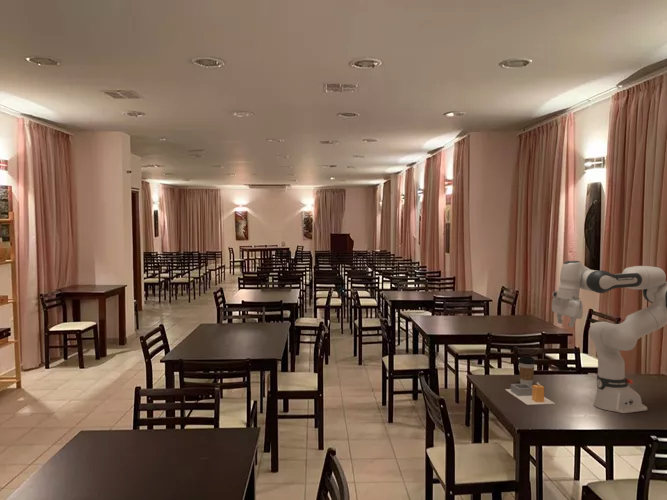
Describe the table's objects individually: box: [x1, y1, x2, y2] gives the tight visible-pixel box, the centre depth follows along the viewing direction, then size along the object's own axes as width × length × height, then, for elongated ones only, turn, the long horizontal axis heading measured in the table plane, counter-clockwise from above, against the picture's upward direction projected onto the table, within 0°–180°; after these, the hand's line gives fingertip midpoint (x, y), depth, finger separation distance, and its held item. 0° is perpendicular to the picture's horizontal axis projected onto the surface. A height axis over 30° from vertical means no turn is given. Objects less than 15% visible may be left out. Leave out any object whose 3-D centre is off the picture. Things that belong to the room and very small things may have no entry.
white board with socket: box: [504, 383, 556, 406], centre depth 258 cm, size 14×24×4 cm, turn 6°
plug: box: [531, 382, 545, 402], centre depth 251 cm, size 4×4×9 cm
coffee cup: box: [517, 356, 536, 387], centre depth 280 cm, size 8×8×15 cm
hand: (565, 325), depth 242 cm, fingers open, 8 cm apart
